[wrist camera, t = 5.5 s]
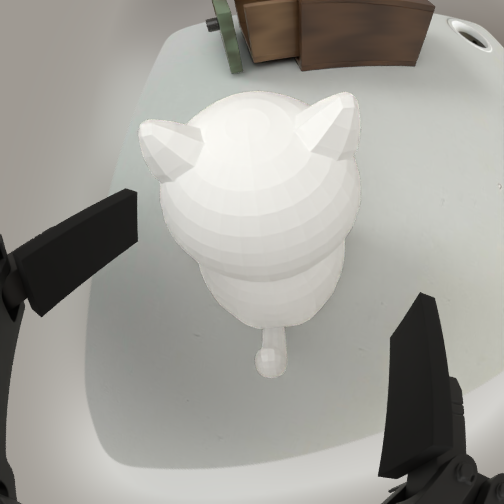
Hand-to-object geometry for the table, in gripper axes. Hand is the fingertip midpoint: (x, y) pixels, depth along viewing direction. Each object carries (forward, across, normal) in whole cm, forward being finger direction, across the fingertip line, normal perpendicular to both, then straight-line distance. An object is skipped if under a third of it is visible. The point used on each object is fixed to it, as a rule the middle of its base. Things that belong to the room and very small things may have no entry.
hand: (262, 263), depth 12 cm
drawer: (+24, -9, +13) cm, 29 cm away
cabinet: (+28, -2, +15) cm, 32 cm away
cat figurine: (+8, 0, -6) cm, 10 cm away
